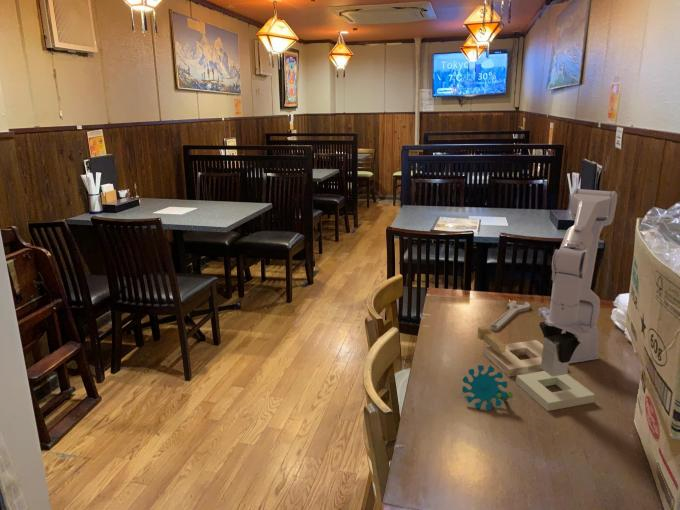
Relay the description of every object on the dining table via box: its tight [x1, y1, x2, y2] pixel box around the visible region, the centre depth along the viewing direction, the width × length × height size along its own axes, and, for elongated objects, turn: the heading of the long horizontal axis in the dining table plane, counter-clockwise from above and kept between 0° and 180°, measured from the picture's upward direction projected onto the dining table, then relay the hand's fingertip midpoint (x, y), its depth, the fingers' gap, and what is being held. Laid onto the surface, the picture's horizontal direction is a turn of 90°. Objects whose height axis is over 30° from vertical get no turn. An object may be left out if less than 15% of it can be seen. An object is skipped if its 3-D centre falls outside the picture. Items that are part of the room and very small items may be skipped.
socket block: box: [483, 339, 544, 377], centre depth 131 cm, size 16×12×2 cm
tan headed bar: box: [477, 325, 506, 353], centre depth 133 cm, size 3×10×3 cm, turn 15°
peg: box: [541, 335, 569, 377], centre depth 114 cm, size 4×4×8 cm
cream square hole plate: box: [515, 371, 596, 412], centre depth 117 cm, size 12×12×2 cm
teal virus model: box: [461, 364, 513, 411], centre depth 114 cm, size 11×6×10 cm
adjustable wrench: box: [489, 300, 531, 332], centre depth 159 cm, size 25×6×2 cm, turn 137°
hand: (557, 356), depth 115 cm, fingers closed on peg, 4 cm apart
